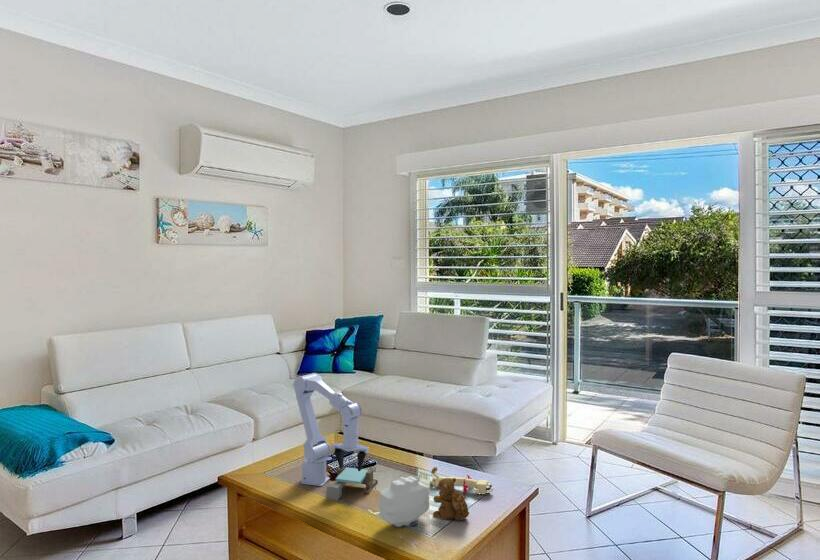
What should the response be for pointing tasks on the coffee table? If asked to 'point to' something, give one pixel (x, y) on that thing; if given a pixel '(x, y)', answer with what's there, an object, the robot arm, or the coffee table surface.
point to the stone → (334, 490)
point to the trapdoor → (352, 476)
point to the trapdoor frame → (369, 479)
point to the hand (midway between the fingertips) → (350, 469)
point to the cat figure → (463, 483)
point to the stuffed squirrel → (450, 501)
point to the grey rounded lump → (404, 501)
